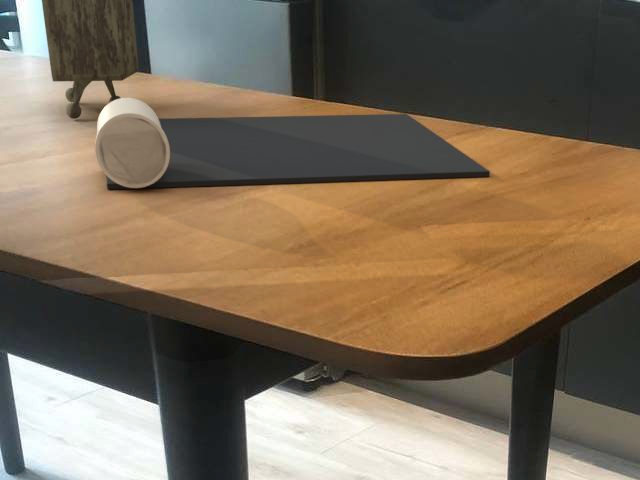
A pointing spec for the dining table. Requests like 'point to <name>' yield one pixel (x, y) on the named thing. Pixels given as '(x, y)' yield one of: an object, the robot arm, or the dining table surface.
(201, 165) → the mat
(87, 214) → the dining table surface
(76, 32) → the tabletop clock
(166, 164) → the cap
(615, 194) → the dining table surface
